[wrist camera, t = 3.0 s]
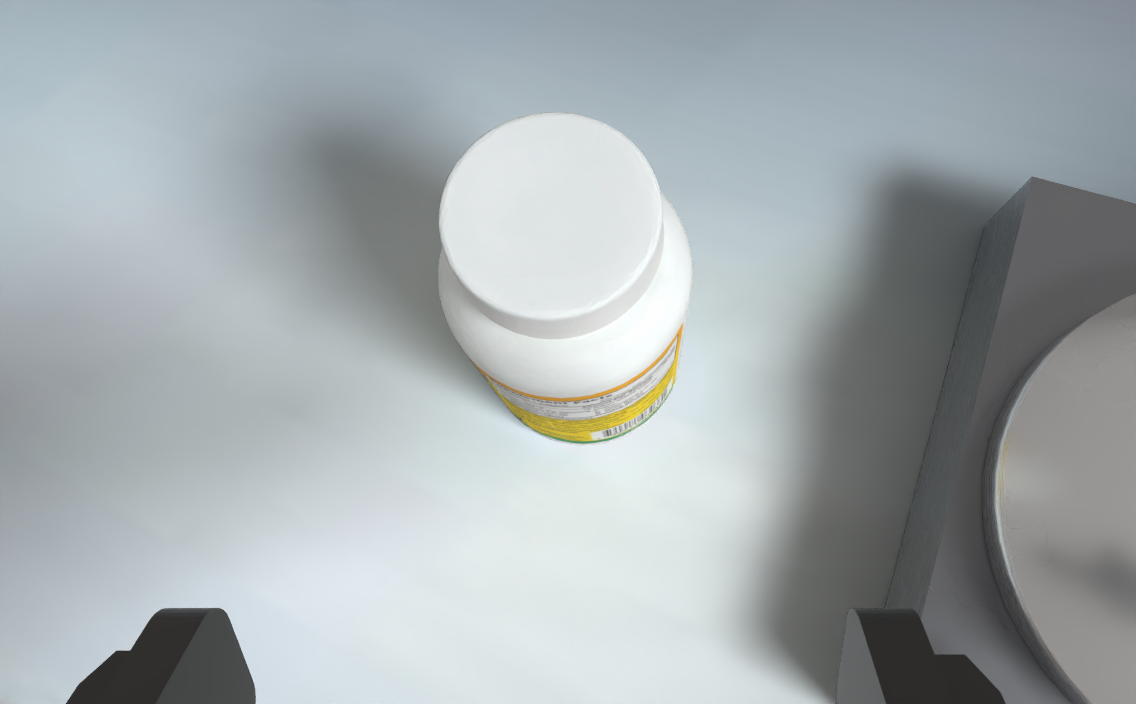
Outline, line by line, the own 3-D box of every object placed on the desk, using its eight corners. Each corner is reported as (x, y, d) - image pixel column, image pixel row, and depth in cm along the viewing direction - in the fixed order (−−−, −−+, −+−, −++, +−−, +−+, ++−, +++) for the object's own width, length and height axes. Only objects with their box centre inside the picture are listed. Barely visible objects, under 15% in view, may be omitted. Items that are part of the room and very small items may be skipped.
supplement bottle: (655, 469, 23) (661, 396, 14) (469, 421, 24) (357, 322, 14) (699, 287, 24) (733, 107, 15) (522, 248, 25) (448, 54, 16)
